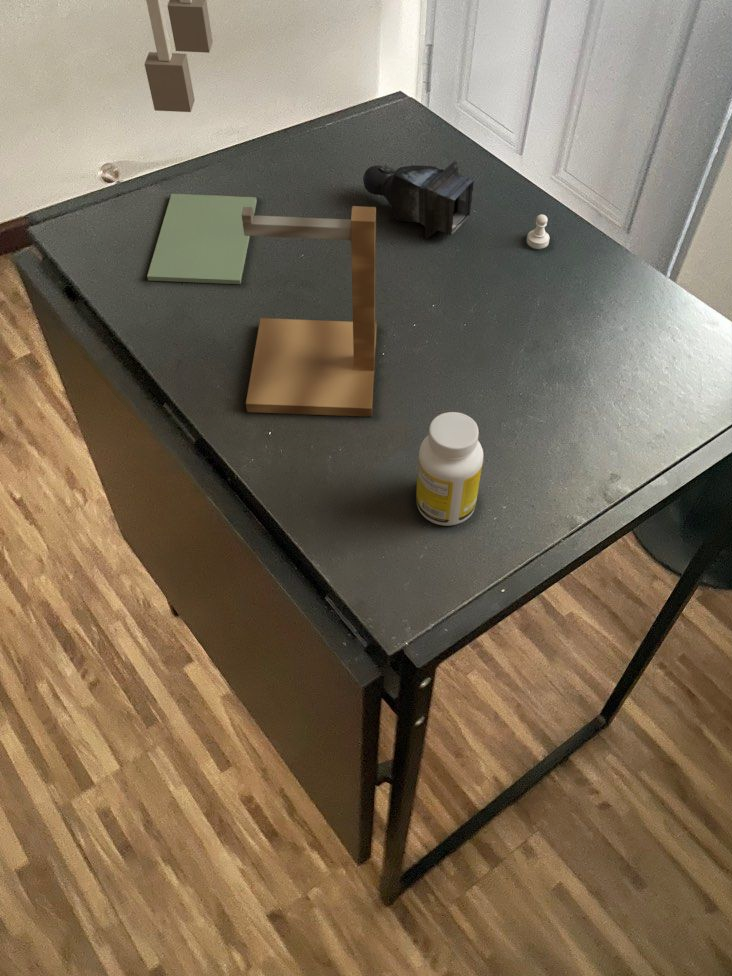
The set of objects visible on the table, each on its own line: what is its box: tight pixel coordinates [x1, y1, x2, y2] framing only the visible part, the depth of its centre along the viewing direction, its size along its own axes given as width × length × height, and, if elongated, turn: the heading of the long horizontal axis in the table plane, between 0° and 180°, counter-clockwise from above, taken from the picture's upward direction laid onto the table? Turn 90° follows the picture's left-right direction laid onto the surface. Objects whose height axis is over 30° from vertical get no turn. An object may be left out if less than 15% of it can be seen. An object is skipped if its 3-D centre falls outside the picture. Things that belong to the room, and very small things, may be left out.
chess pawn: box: [526, 213, 550, 250], centre depth 95 cm, size 3×3×4 cm
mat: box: [146, 193, 258, 285], centre depth 94 cm, size 10×15×1 cm, turn 179°
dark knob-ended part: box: [362, 160, 475, 239], centre depth 96 cm, size 6×13×6 cm, turn 60°
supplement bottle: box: [415, 411, 484, 527], centre depth 71 cm, size 5×5×10 cm
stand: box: [242, 205, 378, 418], centre depth 76 cm, size 12×12×18 cm
